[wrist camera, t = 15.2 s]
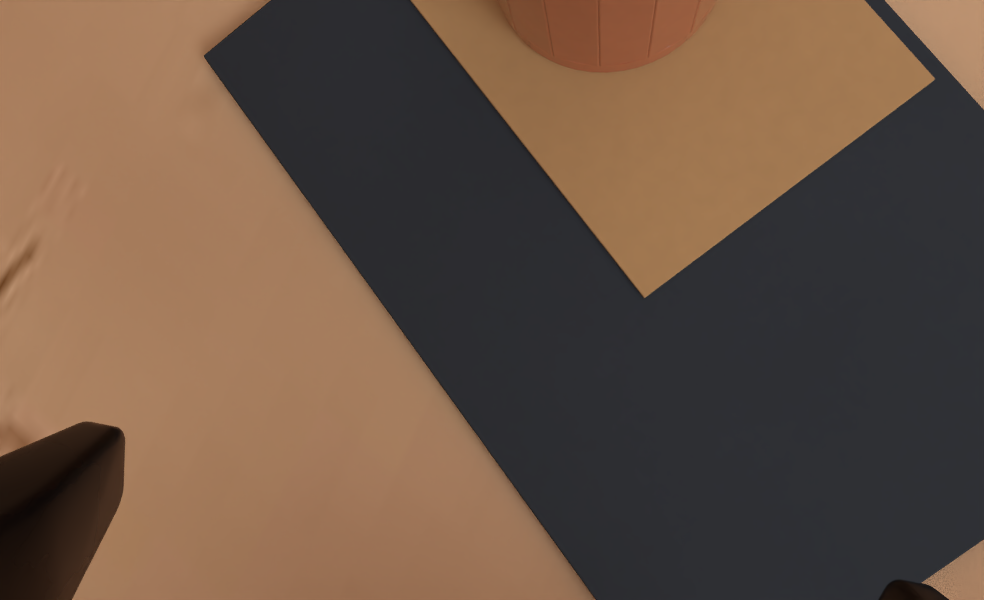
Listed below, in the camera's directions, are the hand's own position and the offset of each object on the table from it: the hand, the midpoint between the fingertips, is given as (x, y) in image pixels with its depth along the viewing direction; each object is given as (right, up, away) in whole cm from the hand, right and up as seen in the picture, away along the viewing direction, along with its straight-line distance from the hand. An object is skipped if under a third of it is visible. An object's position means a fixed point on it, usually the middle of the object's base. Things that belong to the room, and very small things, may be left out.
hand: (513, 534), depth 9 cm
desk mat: (+4, +5, +13) cm, 15 cm away
